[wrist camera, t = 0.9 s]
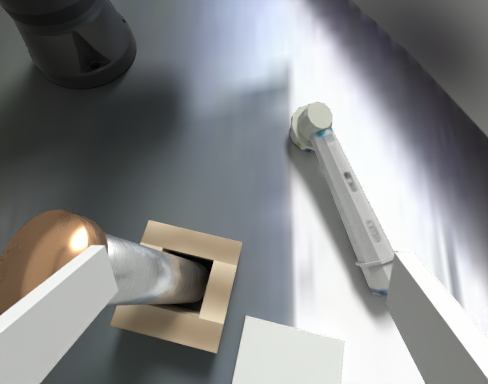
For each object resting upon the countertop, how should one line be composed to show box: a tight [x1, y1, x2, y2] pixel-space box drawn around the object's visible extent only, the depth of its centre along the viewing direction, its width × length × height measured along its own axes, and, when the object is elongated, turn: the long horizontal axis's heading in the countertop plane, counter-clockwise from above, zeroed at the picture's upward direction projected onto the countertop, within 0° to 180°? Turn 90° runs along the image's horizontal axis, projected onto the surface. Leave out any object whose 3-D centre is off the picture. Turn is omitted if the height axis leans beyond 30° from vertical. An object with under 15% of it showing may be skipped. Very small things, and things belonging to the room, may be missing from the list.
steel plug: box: [0, 210, 209, 313], centre depth 21 cm, size 5×5×18 cm
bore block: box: [110, 220, 242, 353], centre depth 27 cm, size 11×11×4 cm
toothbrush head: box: [290, 102, 398, 296], centre depth 31 cm, size 5×7×25 cm
